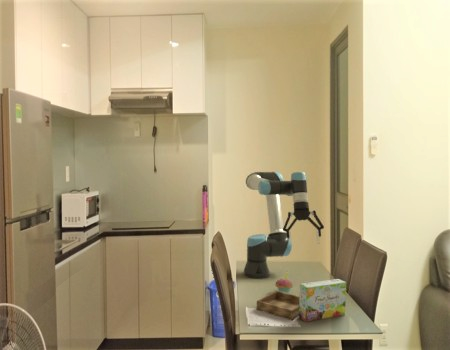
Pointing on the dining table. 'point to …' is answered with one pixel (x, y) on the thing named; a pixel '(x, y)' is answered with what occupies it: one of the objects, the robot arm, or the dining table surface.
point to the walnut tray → (280, 305)
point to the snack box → (322, 299)
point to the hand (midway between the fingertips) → (304, 244)
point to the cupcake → (284, 285)
